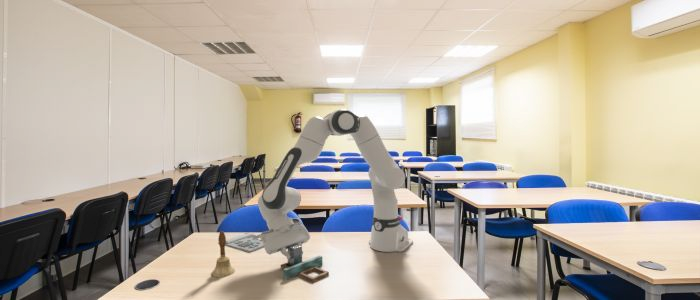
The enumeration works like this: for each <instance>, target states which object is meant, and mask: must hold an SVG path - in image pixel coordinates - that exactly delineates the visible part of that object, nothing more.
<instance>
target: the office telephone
mask: <svg viewBox="0 0 700 300" xmlns="http://www.w3.org/2000/svg"><path fill="white" fill-rule="evenodd" d="M260 235H261V233H259V234H257V235H256V234H254V233H253V232H251V231H249V232H245V233H241V234H239V235H236V236H232V237H229V238H226V243H225V246H226V247H230V248H234V249H237V250H241V251H244V252H248V253H254V252H255V251H259V250H261V249H263V248H264V245H263V241H262V240H261V239H260Z"/></svg>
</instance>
